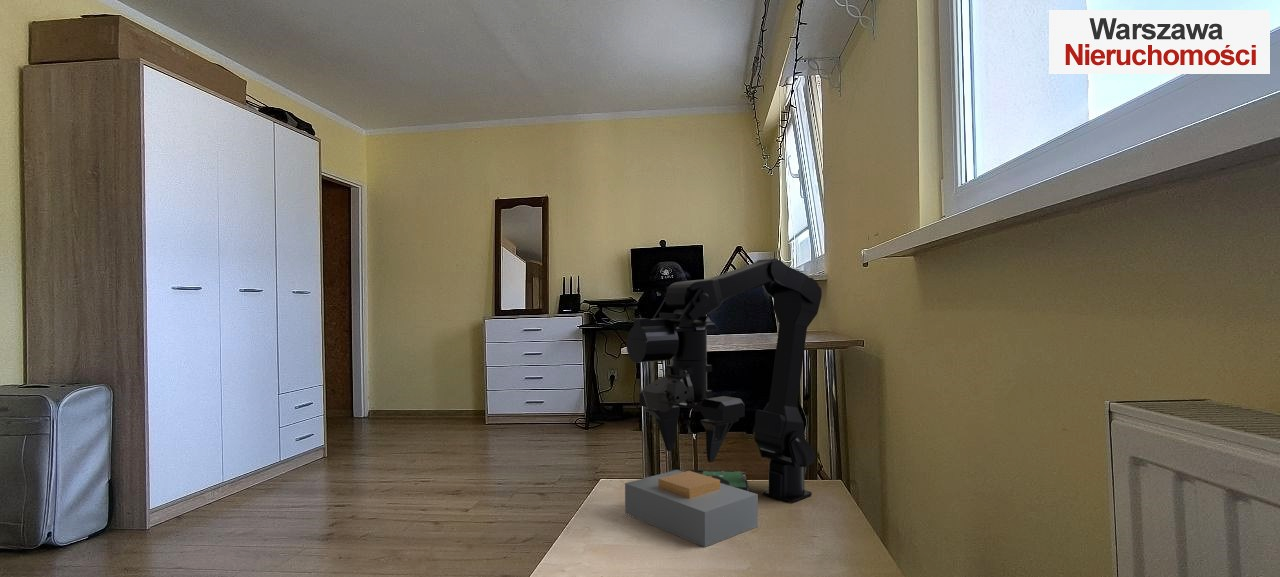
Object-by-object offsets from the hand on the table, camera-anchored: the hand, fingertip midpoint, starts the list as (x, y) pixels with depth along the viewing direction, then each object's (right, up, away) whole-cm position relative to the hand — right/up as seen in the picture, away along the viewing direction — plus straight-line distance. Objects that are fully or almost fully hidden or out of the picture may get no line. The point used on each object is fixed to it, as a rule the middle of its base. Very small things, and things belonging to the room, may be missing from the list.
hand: (689, 456), depth 97 cm
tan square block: (0, -10, 0) cm, 10 cm away
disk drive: (+4, -11, +16) cm, 20 cm away
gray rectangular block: (0, -10, 0) cm, 10 cm away
